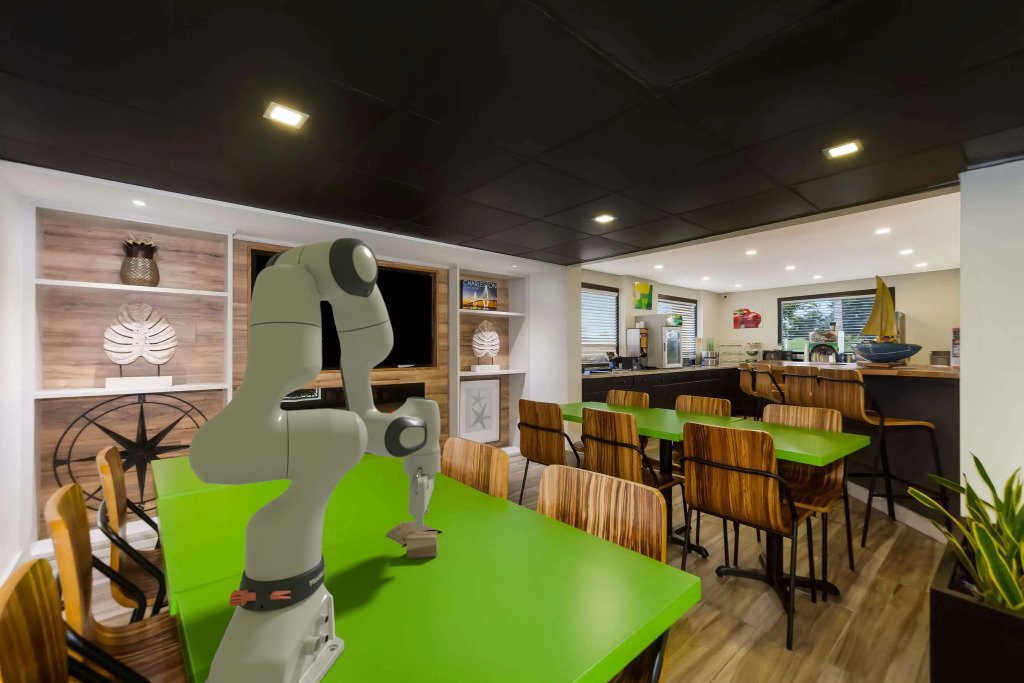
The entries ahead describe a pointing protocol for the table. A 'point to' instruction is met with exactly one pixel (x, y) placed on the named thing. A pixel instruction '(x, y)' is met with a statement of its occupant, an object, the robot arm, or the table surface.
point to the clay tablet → (404, 531)
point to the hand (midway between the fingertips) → (422, 520)
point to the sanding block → (422, 544)
